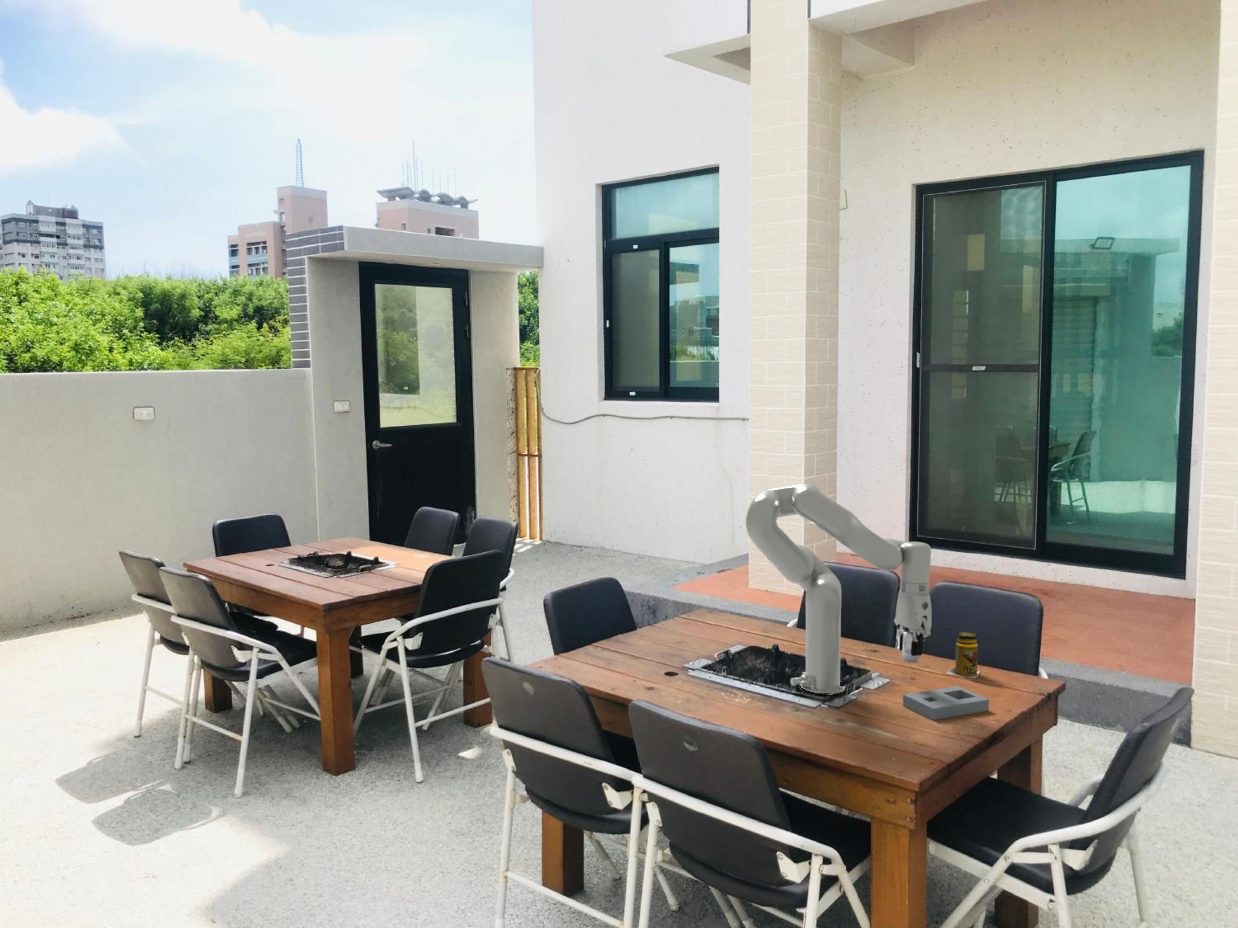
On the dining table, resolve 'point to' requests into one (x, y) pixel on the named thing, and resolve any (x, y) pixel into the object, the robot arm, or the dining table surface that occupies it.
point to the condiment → (966, 656)
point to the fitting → (908, 647)
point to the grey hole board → (945, 702)
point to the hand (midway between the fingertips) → (910, 651)
